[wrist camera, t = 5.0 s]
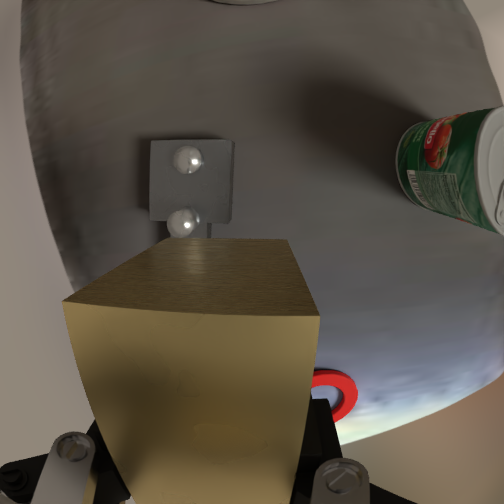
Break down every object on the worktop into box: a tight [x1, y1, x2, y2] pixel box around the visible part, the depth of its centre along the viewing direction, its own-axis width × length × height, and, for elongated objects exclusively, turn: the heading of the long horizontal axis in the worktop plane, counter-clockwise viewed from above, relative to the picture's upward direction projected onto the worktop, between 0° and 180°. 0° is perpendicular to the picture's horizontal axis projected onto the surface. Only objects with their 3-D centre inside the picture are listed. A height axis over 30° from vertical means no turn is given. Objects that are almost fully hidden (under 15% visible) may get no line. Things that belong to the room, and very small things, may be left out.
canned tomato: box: [395, 106, 504, 236], centre depth 17 cm, size 8×8×11 cm
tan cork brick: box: [62, 238, 320, 504], centre depth 8 cm, size 11×4×6 cm, turn 179°
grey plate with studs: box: [149, 140, 235, 238], centre depth 24 cm, size 26×6×4 cm, turn 177°
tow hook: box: [311, 370, 358, 423], centre depth 22 cm, size 8×13×9 cm
